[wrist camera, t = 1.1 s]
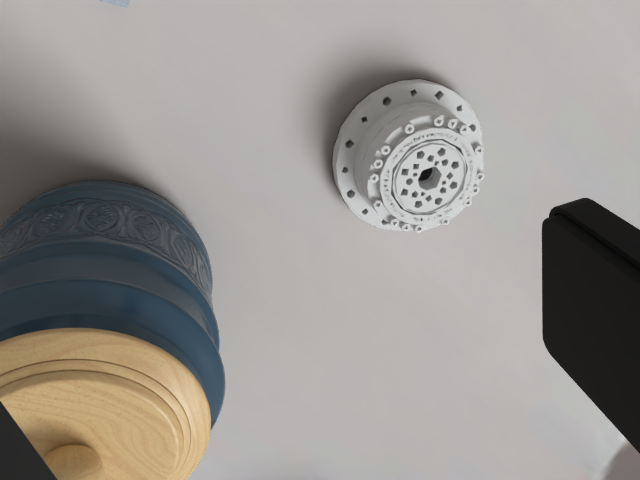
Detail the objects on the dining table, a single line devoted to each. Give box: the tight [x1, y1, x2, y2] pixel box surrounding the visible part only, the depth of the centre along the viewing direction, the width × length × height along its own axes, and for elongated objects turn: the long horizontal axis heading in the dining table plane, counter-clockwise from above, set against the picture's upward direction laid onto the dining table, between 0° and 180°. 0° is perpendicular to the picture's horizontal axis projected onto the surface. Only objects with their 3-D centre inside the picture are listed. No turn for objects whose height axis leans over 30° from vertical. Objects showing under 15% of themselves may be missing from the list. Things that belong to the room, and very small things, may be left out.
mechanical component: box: [332, 79, 484, 233], centre depth 36 cm, size 10×4×10 cm
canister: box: [0, 180, 225, 480], centre depth 29 cm, size 13×13×18 cm
